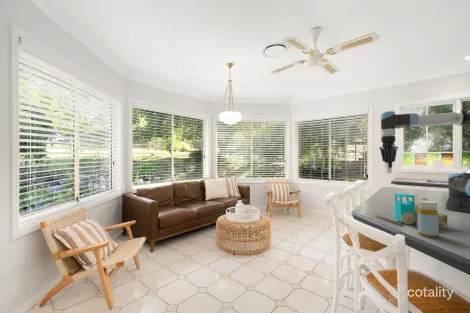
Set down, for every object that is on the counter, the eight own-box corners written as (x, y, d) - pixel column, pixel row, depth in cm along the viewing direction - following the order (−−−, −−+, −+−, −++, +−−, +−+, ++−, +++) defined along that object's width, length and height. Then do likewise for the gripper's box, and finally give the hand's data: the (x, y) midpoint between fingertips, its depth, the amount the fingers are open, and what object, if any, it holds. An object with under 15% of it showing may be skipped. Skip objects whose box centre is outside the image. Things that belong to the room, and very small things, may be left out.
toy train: (438, 225, 116) (438, 196, 116) (401, 224, 119) (401, 195, 119) (429, 221, 124) (428, 193, 123) (394, 220, 127) (394, 193, 127)
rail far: (377, 217, 134) (377, 214, 134) (403, 226, 116) (403, 223, 116) (375, 217, 134) (375, 215, 134) (401, 226, 116) (401, 224, 116)
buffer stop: (438, 225, 117) (438, 213, 117) (447, 227, 112) (447, 215, 112) (412, 226, 115) (412, 214, 115) (421, 229, 111) (420, 216, 111)
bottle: (414, 232, 106) (413, 200, 106) (428, 232, 107) (427, 199, 107) (428, 238, 99) (427, 203, 99) (443, 237, 100) (442, 202, 100)
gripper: (375, 136, 153) (376, 172, 153) (390, 135, 140) (391, 173, 140) (385, 136, 154) (386, 172, 154) (401, 135, 141) (402, 173, 141)
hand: (388, 172), depth 147 cm, fingers closed
